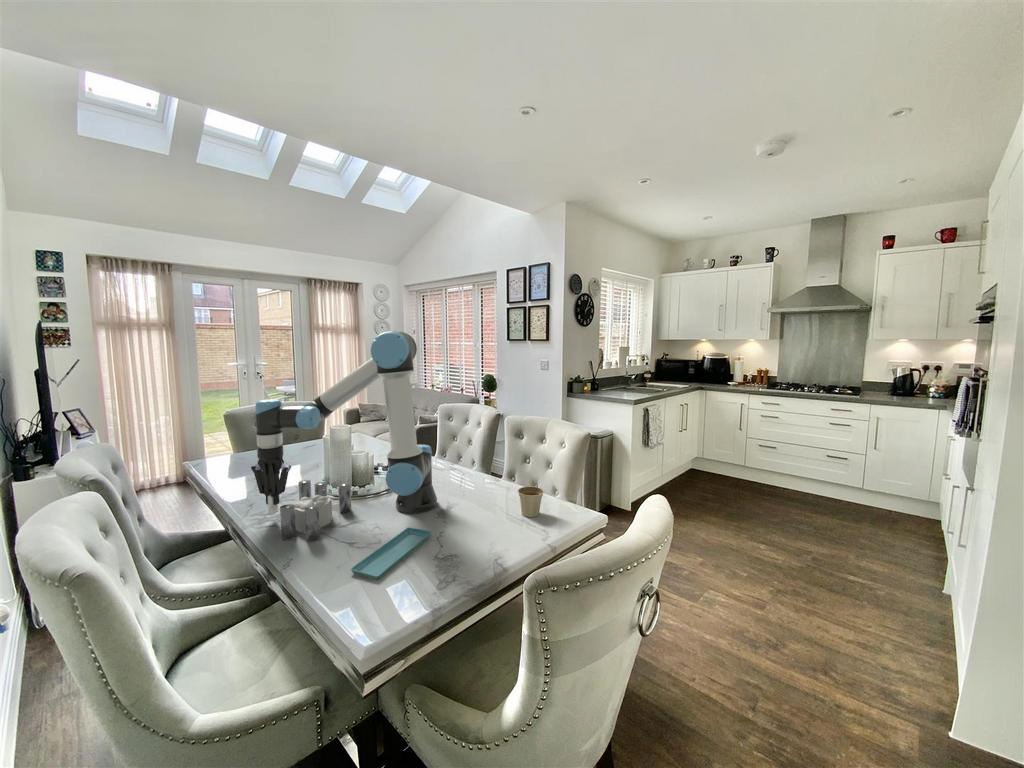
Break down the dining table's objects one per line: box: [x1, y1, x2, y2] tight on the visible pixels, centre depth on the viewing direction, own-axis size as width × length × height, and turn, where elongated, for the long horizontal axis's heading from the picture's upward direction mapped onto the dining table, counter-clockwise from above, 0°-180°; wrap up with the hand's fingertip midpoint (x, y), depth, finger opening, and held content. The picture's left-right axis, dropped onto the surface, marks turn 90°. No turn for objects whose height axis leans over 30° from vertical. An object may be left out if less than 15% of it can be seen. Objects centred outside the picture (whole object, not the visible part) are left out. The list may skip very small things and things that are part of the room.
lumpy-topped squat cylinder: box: [293, 495, 333, 533], centre depth 140 cm, size 10×13×9 cm
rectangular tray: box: [350, 526, 433, 581], centre depth 120 cm, size 26×9×2 cm, turn 159°
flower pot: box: [517, 485, 545, 518], centre depth 148 cm, size 9×9×9 cm
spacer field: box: [279, 479, 353, 542], centre depth 141 cm, size 20×26×10 cm
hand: (273, 513), depth 141 cm, fingers closed
